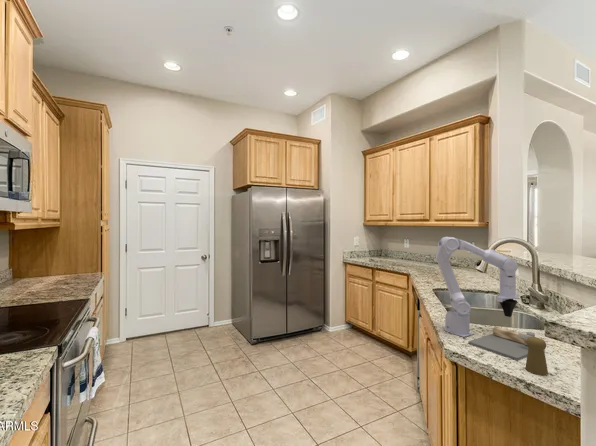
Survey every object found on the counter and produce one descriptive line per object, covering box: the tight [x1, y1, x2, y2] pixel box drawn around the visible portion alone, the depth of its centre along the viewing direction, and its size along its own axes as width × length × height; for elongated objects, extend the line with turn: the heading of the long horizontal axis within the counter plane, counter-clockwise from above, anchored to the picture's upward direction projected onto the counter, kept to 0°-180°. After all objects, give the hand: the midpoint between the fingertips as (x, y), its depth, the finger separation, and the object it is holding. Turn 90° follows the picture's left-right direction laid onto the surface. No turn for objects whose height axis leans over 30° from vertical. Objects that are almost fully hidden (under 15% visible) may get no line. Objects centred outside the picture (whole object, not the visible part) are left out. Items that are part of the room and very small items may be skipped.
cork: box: [525, 336, 549, 376], centre depth 101 cm, size 6×6×11 cm
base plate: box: [467, 331, 536, 362], centre depth 121 cm, size 18×20×6 cm
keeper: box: [517, 332, 534, 339], centre depth 117 cm, size 5×2×5 cm, turn 30°
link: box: [492, 326, 538, 346], centre depth 124 cm, size 16×4×3 cm, turn 30°
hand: (508, 316), depth 132 cm, fingers closed
